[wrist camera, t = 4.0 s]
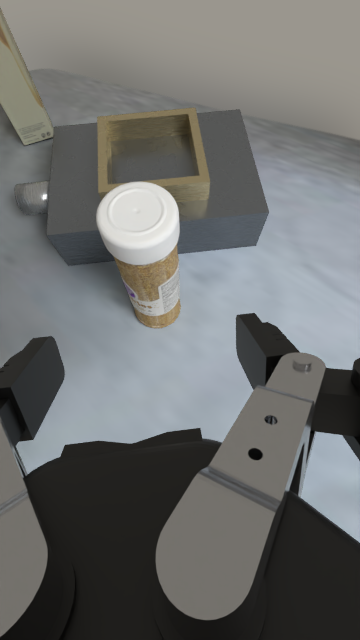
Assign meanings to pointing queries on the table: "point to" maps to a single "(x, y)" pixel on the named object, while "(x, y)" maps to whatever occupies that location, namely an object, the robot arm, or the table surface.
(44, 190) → the grey block with recess
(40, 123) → the skincare box
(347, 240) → the table surface
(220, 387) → the table surface
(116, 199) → the sprinkles bottle
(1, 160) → the table surface
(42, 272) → the table surface
